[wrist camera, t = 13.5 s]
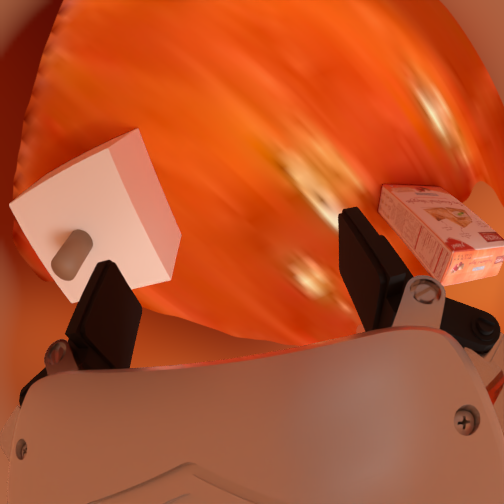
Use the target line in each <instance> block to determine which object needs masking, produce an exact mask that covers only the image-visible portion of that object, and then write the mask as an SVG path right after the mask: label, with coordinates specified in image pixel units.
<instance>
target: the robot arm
mask: <svg viewBox="0 0 504 504" xmlns="http://www.w3.org/2000/svg"><path fill="white" fill-rule="evenodd" d="M338 223H339V270H340V274H341V276H342V278H343V281H344V283H345V285H346V287H347V289H348V292H349V294H350V296H351V298H352V301H353V303H354V305H355V308H356V310H357V312H358V314H359V317H360V319H361V322H362V324H363V326H364V329H365V331H366V332H363V333H358V334H353V335H349V336H345V337H341V338H336V339H332V340H328V341H323V342H318V343H313V344H309V345H304V346H299V347H294V348H289V349H284V350H280V351H274V352H269V353H263V354H257V355H251V356H244V357H237V358H231V359H223V360H216V361H208V362H200V363H191V364H181V365H170V366H159V367H145V368H130V364H131V359H132V354H133V349H134V345H135V340H136V335H137V331H138V327H139V323H140V319H141V314H142V307H141V304H140V303H139V301H138V300H137V298H136V296H135V295H134V293H133V292H132V290H131V288H130V287H129V285H128V283H127V282H126V280H125V278H124V277H123V275H122V273H121V271H120V270H119V268H118V266H117V265H116V263H115V262H112V261H111V260H105V261H101V262H98V263H97V264H96V266H95V268H94V270H93V272H92V274H91V276H90V278H89V280H88V283H87V285H86V287H85V289H84V291H83V293H82V295H81V297H80V300H79V302H78V304H77V306H76V309H75V311H74V313H73V316H72V318H71V320H70V323H69V325H68V328H67V330H66V333H65V334H66V335H67V337H68V338H69V340H68V342H67V341H66V340H64V339H60V340H57V341H55V342H54V343H52V344H51V345H50V346H49V348H48V350H47V351H46V353H45V357H44V362H45V368H44V369H43V370H42V371H41V372H40V373H39V374H38V375H36V376H35V377H34V378H33V379H32V380H31V381H30V382H29V383H28V384H27V385H26V386H25V387H23V389H22V390H21V393H20V399H19V402H20V406H21V407H19V406H18V405H17V407H16V409H15V410H14V412H13V413H12V415H11V416H10V418H9V420H8V421H7V423H6V424H5V426H4V428H3V429H2V431H1V433H0V445H1V448H2V450H3V451H4V453H5V455H6V456H7V458H8V460H9V461H10V464H9V473H8V490H7V491H8V492H7V504H504V334H502V333H501V332H500V326H499V323H498V322H497V320H496V319H495V318H494V317H493V316H492V315H491V314H489V313H487V312H485V311H482V310H479V309H477V308H474V307H471V306H468V305H466V304H463V303H460V302H457V301H455V300H452V299H449V298H446V297H445V290H444V287H443V285H442V284H441V283H440V282H439V281H438V280H436V279H435V278H432V277H430V276H424V275H422V276H416V277H413V275H412V274H411V272H410V271H409V269H408V268H407V267H406V265H405V264H404V262H403V261H402V260H401V258H400V257H399V255H398V254H397V253H396V251H395V250H394V248H393V247H392V246H391V244H390V243H389V242H388V240H387V239H386V238H385V237H384V236H383V235H379V234H378V233H377V232H376V230H375V229H374V228H373V226H372V225H371V224H370V222H369V221H368V220H367V219H366V217H365V216H364V215H363V213H362V212H361V211H360V210H359V208H358V207H352V208H347V209H343V211H342V213H340V214H339V215H338Z"/></svg>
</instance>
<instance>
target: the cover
mask: <svg viewBox="0 0 504 504" xmlns="http://www.w3.org/2000/svg"><path fill="white" fill-rule="evenodd" d="M9 206H10V208H11V210H12V212H13V214H14V216H15V217H16V219H17V221H18V223H19V225H20V227H21V228H22V230H23V232H24V234H25V235H26V237H27V239H28V240H29V242H30V244H31V245H32V247H33V249H34V250H35V252H36V253H37V255H38V257H39V258H40V260H41V261H42V263H43V264H44V266H45V267H46V269H47V270H48V272H49V273H50V275H51V276H52V278H53V279H54V280H55V282H56V283H57V284H58V286H59V287H60V289H61V290H62V291H63V293H64V294H65V295H66V297H67V298H68V299H69V300H70V302H71V303H74V302H79V300H80V297H81V295H82V293H83V291H84V289H85V287H86V285H87V283H88V280H89V278H90V276H91V274H92V272H93V270H94V268H95V266H96V264H97V263H98V262H101V261H105V260H111V261H112V262H115V263H116V265H117V266H118V268H119V270H120V271H121V273H122V275H123V277H124V278H125V280H126V282H127V283H128V285H129V287H130V288H131V289H135V288H139V287H143V286H148V285H152V284H156V283H160V282H165V281H169V280H171V277H172V273H173V268H174V264H175V260H176V255H177V251H178V247H179V243H180V239H181V232H180V230H179V228H178V226H177V223H176V221H175V219H174V216H173V214H172V212H171V209H170V207H169V205H168V202H167V200H166V198H165V195H164V193H163V190H162V188H161V185H160V183H159V180H158V178H157V175H156V173H155V170H154V168H153V165H152V163H151V160H150V158H149V155H148V153H147V150H146V147H145V145H144V142H143V139H142V137H141V134H140V131H139V129H138V128H137V129H134V130H132V131H130V132H127V133H125V134H123V135H121V136H118V137H116V138H114V139H112V140H110V141H107V142H105V143H103V144H101V145H99V146H97V147H95V148H93V149H91V150H89V151H87V152H85V153H83V154H81V155H79V156H78V157H76V158H74V159H72V160H70V161H68V162H67V163H65V164H63V165H61V166H59V167H58V168H56V169H54V170H53V171H51V172H49V173H48V174H46V175H45V176H43V177H42V178H41V179H39V180H38V181H37V182H35V183H34V184H33V185H32V186H30V187H29V188H28V189H27V190H25V191H24V192H23V193H22V194H21V195H19V196H18V197H17V198H16V199H15V200H13V201H12V202H11V203H10V204H9Z"/></svg>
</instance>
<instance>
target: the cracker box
mask: <svg viewBox="0 0 504 504" xmlns="http://www.w3.org/2000/svg"><path fill="white" fill-rule="evenodd" d="M378 213H379V214H380V215H381V216H382V218H383V219H384V220H385V221H386V222H387V223H388V224H389V225H390V226H391V228H392V229H393V230H394V231H395V232H396V233H397V235H398V236H399V237H400V238H401V239H402V240H403V242H404V243H405V244H406V245H407V246H408V248H409V249H410V250H411V251H412V253H413V254H414V255H415V256H416V258H417V259H418V260H419V261H420V263H421V264H422V265H423V266H424V268H425V269H426V270H427V272H428V273H429V274H430V276H431V277H432V278H435V279H436V280H438V281H439V282H440V283H441V284H442V285H443V286H446V285H451V284H457V283H462V282H467V281H471V280H476V279H481V278H485V277H490V276H494V275H497V274H498V272H499V269H500V267H501V265H502V263H503V260H504V239H503V238H502V237H501V236H500V235H499V234H497V233H496V232H495V231H494V230H493V229H492V228H491V227H489V226H488V225H487V224H486V223H485V222H484V221H483V220H482V219H480V218H479V217H478V216H477V215H476V214H474V213H473V212H472V211H471V210H470V209H468V208H467V207H466V206H465V205H463V204H462V203H461V202H460V201H458V200H457V199H456V198H454V197H453V196H452V195H450V194H449V193H448V192H446V191H445V190H444V189H442V188H441V187H436V186H418V185H397V184H382V190H381V196H380V202H379V208H378Z"/></svg>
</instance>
